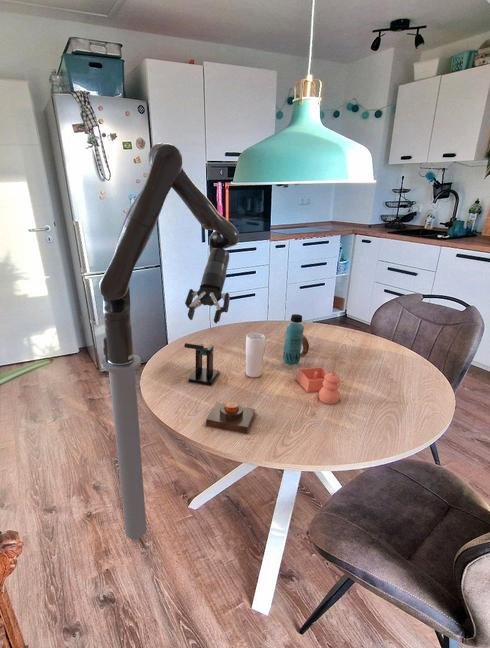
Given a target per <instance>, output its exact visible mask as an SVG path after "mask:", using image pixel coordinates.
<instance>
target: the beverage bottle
mask: <svg viewBox="0 0 490 648" xmlns="http://www.w3.org/2000/svg"><path fill="white" fill-rule="evenodd" d="M302 322H303V316H302V314H299V313H298V314H297V313H294V314H291V316H290V323H289V324H287V325H286V330H285V333H286V339H285V338H284V343H283V344H284V347H283V353H282V354H283V355H282V356H283V357H282V361H283V364H286V365H290V366H295V365H298V364H299V363H300V361H301V355H300V353H301V348H302V347H301V346H302V338H303V335H304V330H305V326H303V324H301V323H302Z"/></svg>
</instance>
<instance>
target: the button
mask: <svg viewBox="0 0 490 648" xmlns="http://www.w3.org/2000/svg"><path fill="white" fill-rule="evenodd" d="M224 404H225V403H224ZM238 404H239V403H238V402H236V401H232V400H231V401H226V404H225V410H226V411H227V412H230V413H235V412H237V411H238Z"/></svg>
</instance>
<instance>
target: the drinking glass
mask: <svg viewBox="0 0 490 648" xmlns="http://www.w3.org/2000/svg"><path fill="white" fill-rule="evenodd" d="M266 338H267V337H266V335H265V334H263V333H260V332H249V333H247V334H246V338H245V375H246V376H248V377H250V378H259V377H260V376H261V375H262V366H263V361H264V354H265V349H266Z"/></svg>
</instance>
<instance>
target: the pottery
mask: <svg viewBox="0 0 490 648" xmlns="http://www.w3.org/2000/svg"><path fill="white" fill-rule="evenodd" d="M295 380H296V381H297V382H298V383H299V384H300V385H301V387H302V388H303V389H304V390H305V391H306V393H310V392H312V393H313V392H318V398H319V400H320V401H321V402H322V403H325V404H327V405H328V404H329V405H334V404H337V403H338V402H339V400H340V397H341V394H340V393H341V392H340V391H339V388H340V386H341V385H340V381H341V377H340V376H339V375H338V374H337V372H336V371H334V370H331V371H330V372H329V371H327V370H326V369H325V368H324V367H323V366H318V367H304V368H297V372H296V379H295Z"/></svg>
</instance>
